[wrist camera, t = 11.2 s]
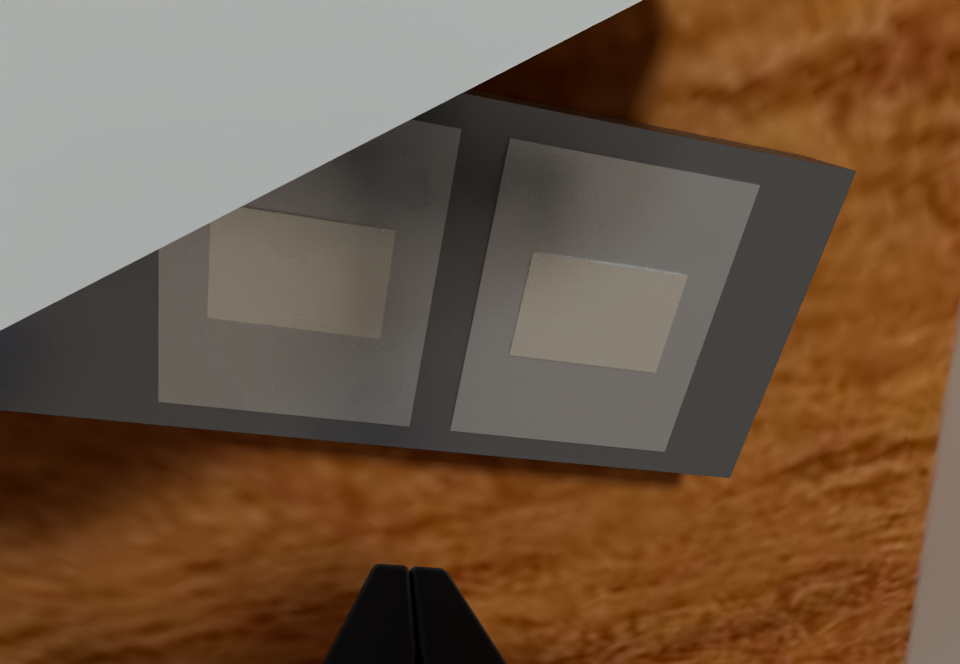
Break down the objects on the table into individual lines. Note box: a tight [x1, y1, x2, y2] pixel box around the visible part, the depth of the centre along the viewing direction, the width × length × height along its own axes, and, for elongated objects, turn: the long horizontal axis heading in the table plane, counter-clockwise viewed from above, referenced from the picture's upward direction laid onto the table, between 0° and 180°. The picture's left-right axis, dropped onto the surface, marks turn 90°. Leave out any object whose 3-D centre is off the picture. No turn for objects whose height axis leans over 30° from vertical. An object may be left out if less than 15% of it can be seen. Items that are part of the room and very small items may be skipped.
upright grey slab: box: [0, 0, 642, 330], centre depth 10 cm, size 22×4×8 cm, turn 115°
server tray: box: [0, 89, 856, 478], centre depth 18 cm, size 10×25×3 cm, turn 79°
